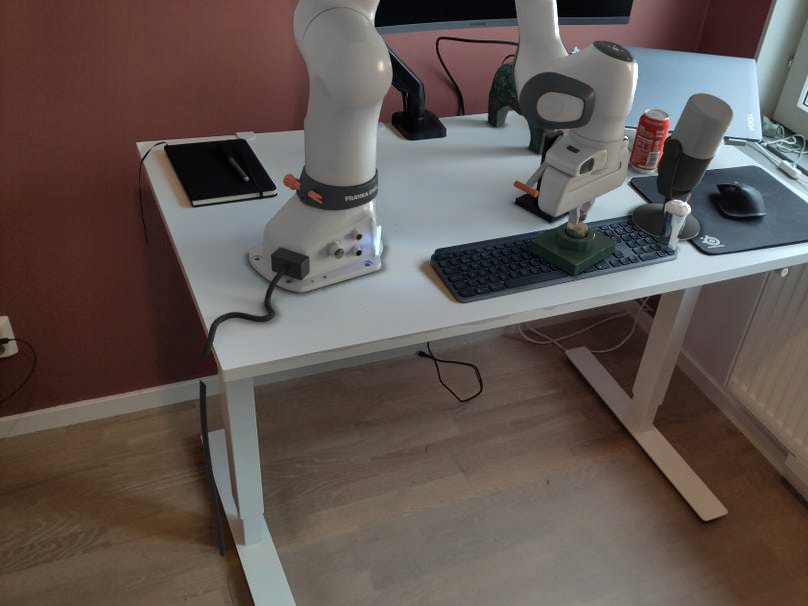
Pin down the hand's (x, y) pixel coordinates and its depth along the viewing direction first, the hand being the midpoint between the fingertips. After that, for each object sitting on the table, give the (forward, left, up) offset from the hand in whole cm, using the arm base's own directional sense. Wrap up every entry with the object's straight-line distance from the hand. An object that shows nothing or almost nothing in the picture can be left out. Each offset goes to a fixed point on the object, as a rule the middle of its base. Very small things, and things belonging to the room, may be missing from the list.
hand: (576, 221), depth 142 cm
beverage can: (+39, +11, -7) cm, 41 cm away
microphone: (+23, -5, -6) cm, 25 cm away
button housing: (0, 0, -6) cm, 6 cm away
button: (0, 0, -3) cm, 3 cm away
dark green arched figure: (+27, +36, -7) cm, 46 cm away
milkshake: (+16, -10, -7) cm, 20 cm away
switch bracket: (+10, +13, -6) cm, 18 cm away
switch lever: (+7, +13, +2) cm, 15 cm away
